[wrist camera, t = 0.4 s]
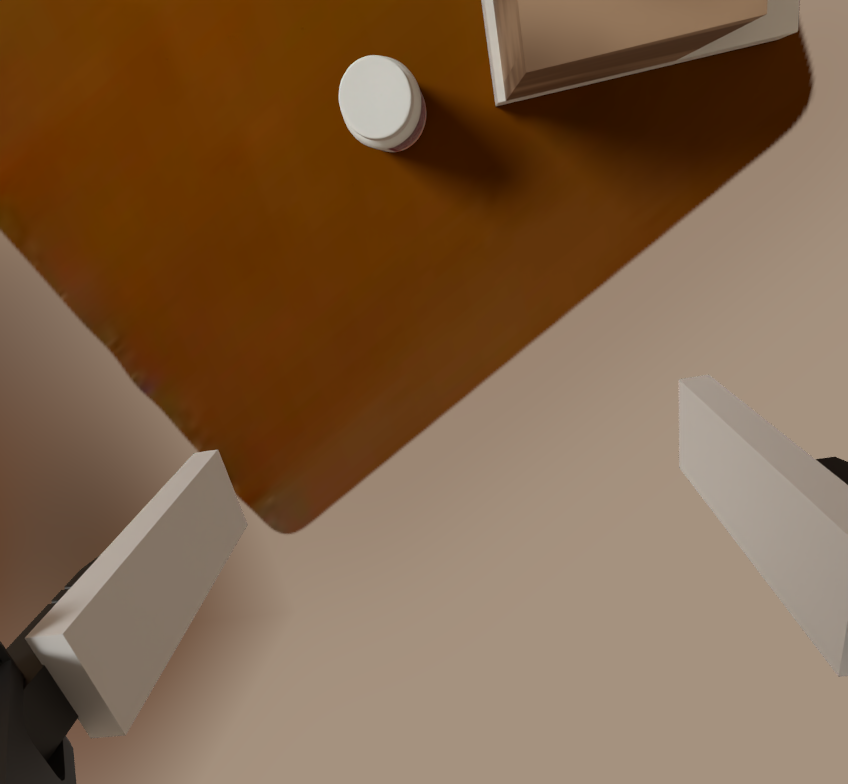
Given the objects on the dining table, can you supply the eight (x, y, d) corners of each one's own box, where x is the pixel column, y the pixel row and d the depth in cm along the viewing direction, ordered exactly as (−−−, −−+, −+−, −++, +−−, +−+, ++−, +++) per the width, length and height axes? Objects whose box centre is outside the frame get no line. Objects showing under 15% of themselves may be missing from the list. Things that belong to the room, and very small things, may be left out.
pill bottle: (426, 73, 34) (418, 44, 27) (426, 152, 36) (419, 146, 29) (355, 74, 35) (327, 46, 27) (359, 152, 37) (334, 147, 29)
